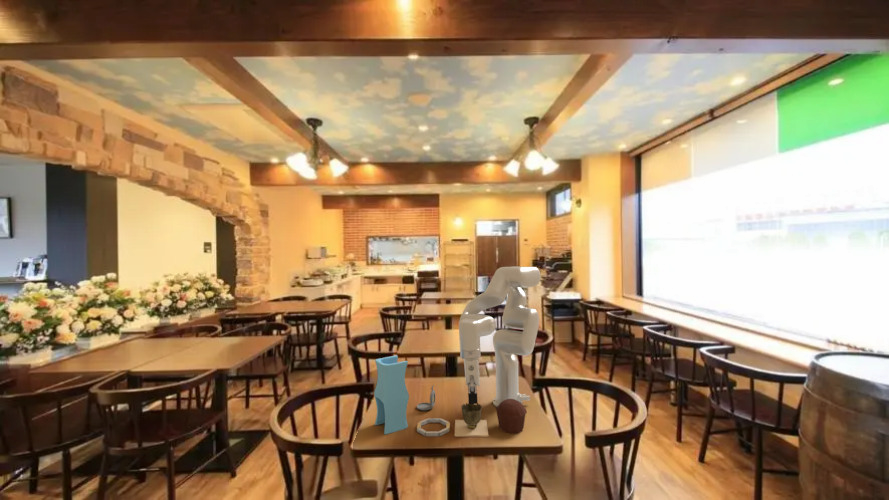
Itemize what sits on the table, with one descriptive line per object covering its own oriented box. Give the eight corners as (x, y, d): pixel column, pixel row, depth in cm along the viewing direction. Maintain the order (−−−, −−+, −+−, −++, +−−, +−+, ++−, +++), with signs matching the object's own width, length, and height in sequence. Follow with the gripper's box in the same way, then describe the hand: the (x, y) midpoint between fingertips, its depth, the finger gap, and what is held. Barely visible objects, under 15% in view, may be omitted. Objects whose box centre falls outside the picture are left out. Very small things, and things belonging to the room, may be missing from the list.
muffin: (529, 435, 139) (529, 407, 139) (498, 435, 140) (497, 407, 139) (523, 420, 151) (523, 394, 151) (494, 420, 151) (494, 395, 151)
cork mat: (486, 421, 151) (486, 419, 151) (488, 436, 139) (488, 435, 139) (455, 421, 151) (455, 419, 151) (454, 436, 139) (454, 434, 139)
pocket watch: (414, 406, 166) (414, 383, 166) (433, 403, 169) (432, 380, 169) (421, 414, 159) (420, 389, 158) (440, 410, 162) (439, 386, 162)
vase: (409, 427, 147) (408, 361, 147) (385, 434, 142) (383, 366, 141) (398, 417, 155) (396, 355, 155) (374, 424, 150) (373, 359, 150)
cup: (485, 425, 146) (485, 404, 146) (476, 434, 140) (476, 412, 139) (467, 421, 150) (467, 400, 150) (458, 429, 144) (457, 407, 143)
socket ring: (450, 421, 152) (450, 418, 151) (449, 436, 140) (449, 433, 140) (419, 421, 152) (419, 418, 152) (415, 436, 140) (415, 432, 140)
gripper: (481, 360, 136) (484, 408, 137) (479, 345, 153) (481, 387, 155) (460, 361, 137) (462, 408, 138) (460, 345, 154) (462, 388, 155)
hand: (472, 397), depth 146 cm, fingers open, 9 cm apart
